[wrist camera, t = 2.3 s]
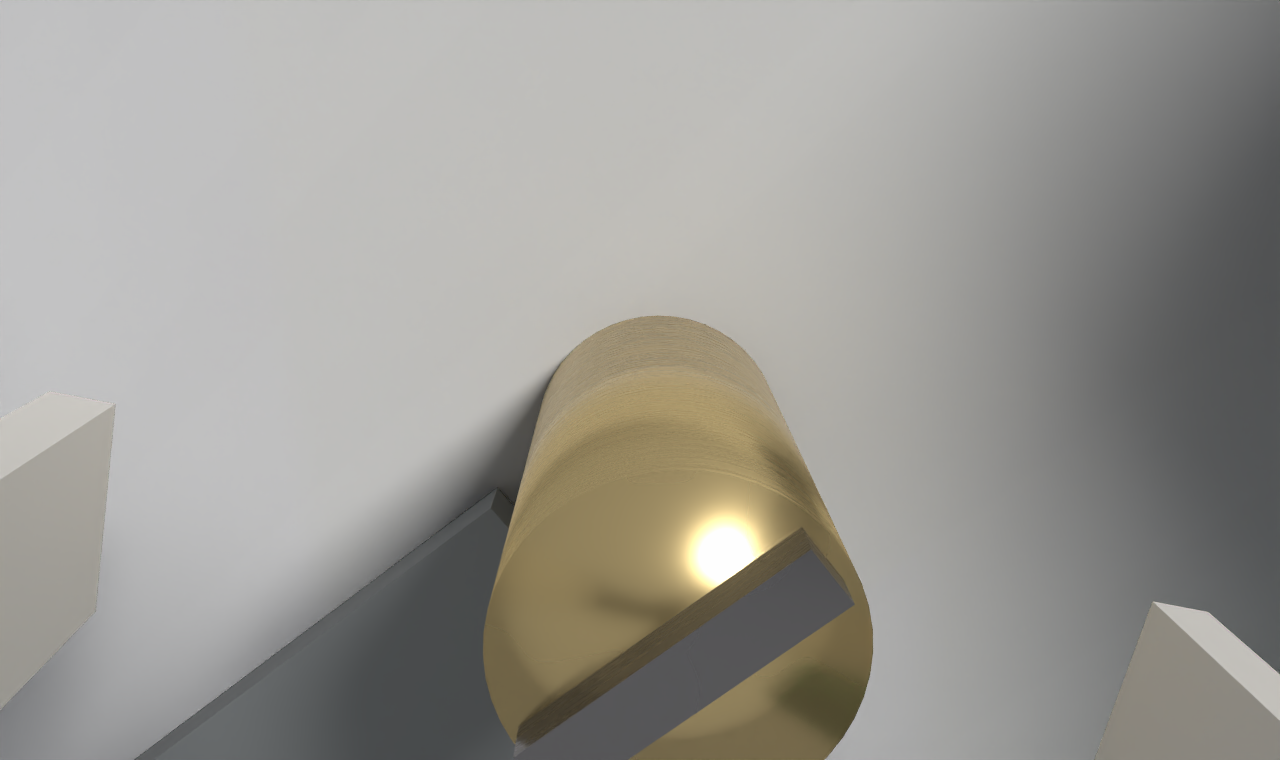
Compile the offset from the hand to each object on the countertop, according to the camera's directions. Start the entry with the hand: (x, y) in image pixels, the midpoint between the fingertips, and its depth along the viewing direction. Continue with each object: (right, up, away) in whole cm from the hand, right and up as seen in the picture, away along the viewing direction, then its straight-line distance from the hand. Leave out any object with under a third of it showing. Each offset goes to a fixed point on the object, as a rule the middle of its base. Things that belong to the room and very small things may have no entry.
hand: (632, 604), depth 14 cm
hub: (0, +2, +6) cm, 7 cm away
